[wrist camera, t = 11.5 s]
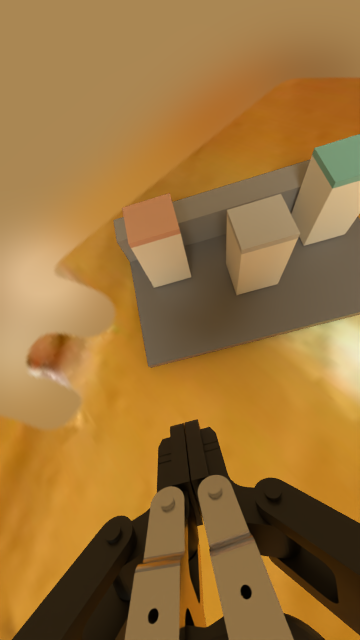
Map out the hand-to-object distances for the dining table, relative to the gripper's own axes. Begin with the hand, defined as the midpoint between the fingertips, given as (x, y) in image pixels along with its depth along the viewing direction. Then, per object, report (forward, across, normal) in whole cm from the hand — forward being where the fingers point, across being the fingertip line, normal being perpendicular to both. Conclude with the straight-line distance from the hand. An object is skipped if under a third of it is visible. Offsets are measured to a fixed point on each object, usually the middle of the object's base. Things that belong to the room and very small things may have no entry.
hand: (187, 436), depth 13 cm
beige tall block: (+16, -10, -5) cm, 19 cm away
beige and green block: (+17, -18, -8) cm, 26 cm away
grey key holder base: (+17, -10, -5) cm, 21 cm away
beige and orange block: (+18, -1, -8) cm, 20 cm away
